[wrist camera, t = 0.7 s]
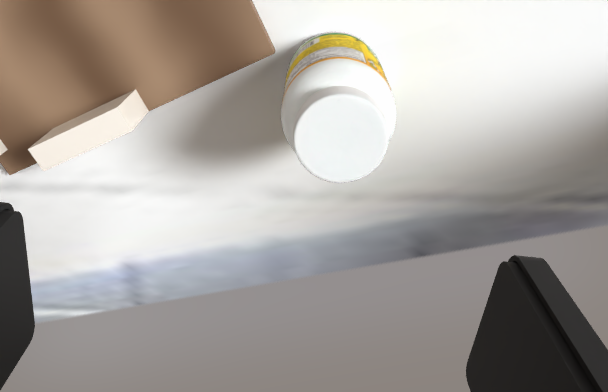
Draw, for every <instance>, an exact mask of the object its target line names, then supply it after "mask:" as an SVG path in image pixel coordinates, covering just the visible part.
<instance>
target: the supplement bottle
mask: <svg viewBox="0 0 608 392" xmlns="http://www.w3.org/2000/svg"><path fill="white" fill-rule="evenodd" d="M281 123H282V128H283V132H284V135H285V137H286V139H287V141H288V143H289V145H290V146H291V148H292V149H293V150H294V151H295V153H296V154H297V157H298V159H299V160H300V162H301V163H302V165H303V166H304V167H305V168H306V169H307V170H308V171H309V172H310V173H311V174H313V175H314V176H316V177H318V178H320V179H323V180H325V181H329V182H335V183H345V182H352V181H355V180H358V179H360V178H363V177H365V176H367V175H368V174H369V173H371V172H372V171H373V170H374V169H375V168H376V167H377V166H378V165H379V164H380V163H381V161H382V159H383V158H384V156H385V153H386V151H387V147H388V143H389V141H390V139H391V137H392V135H393V132H394V129H395V124H396V104H395V100H394V96H393V94H392V91H391V88H390V86H389V83H388V81H387V79H386V77H385V74H384V72H383V69H382V66H381V64H380V62H379V60H378V58H377V56H376V55H375V53H374V52H373V51H372V49H371V48H370V47H369V46H368V45H367V44H366V43H365V42H364V41H363V40H361V39H360V38H358V37H357V36H354V35H352V34H349V33H345V32H326V33H322V34H319V35H316V36H314V37H312V38H310V39H309V40H307V41H306V42H305V43H304V44H302V45H301V46H300V47H299V49H298V50H297V51H296V52H295V54H294V56H293V57H292V59H291V62H290V64H289V67H288V71H287V75H286V83H285V90H284V95H283V100H282V107H281Z"/></svg>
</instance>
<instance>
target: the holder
mask: <svg viewBox="0 0 608 392" xmlns="http://www.w3.org/2000/svg"><path fill="white" fill-rule="evenodd" d="M148 112H149V111H148V109H147V107H146V106H145V104H144V102H143V101H142V99H141V97H140V95H139V94H138V92H137V90H136V89H135V90H133V91H131V92H129V93H127V94H125V95H122V96H120V97H118V98H116V99H114V100H112V101H110V102H108V103H105V104H103V105H101V106H99V107H97V108H95V109H93V110H91V111H89V112H86V113H84V114H82V115H80V116H78V117H76V118H74V119H72V120H69V121H67V122H65V123H63V124H61V125H59V126H57V127H55V128H53V129H52V130H50V131H49V132H48V133H47V134H46V135H44V136H43V137H42V138H41V139H40V140H38V141H37V142H36V143H35V144H33V145H32V146H31V147H30V148H29V149H28V150H29V152H30V153H31V155H32V156H33V157H34V159H35V160H36V162H37V163H38V164H39V166H40V167H41V169H42V170H43V171H46V170H48V169H50V168H52V167H54V166H57V165H59V164H61V163H63V162H65V161H68V160H70V159H72V158H74V157H76V156H79V155H81V154H83V153H85V152H87V151H90V150H92V149H94V148H96V147H98V146H101V145H103V144H105V143H107V142H109V141H112V140H114V139H116V138H118V137H120V136H123V135H125V134H127V133H129V132H131V131H133V130H134V128H135V127H136V126H137V125H138V124H139V122H140V121H141V120H142V119H143V118H144V116H145V115H146V114H147V113H148ZM7 150H8V149H7V148H6V146H5V145H4V144H3V142H2V141H1V140H0V155H1V154H3V153H4V152H5V151H7Z"/></svg>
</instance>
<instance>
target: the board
mask: <svg viewBox="0 0 608 392" xmlns="http://www.w3.org/2000/svg"><path fill="white" fill-rule="evenodd" d="M274 53H275V48H274V46H273V44H272V42H271V40H270V38H269V36H268V33H267V31H266V29H265V27H264V25H263V23H262V21H261V19H260V17H259V14H258V12H257V10H256V8H255V6H254V4H253V2H252V0H0V140H1V141H2V142H3V144H4V145H5V146H6V148H7V149H8V150H7V151H5V152H4V153H3V154H1V155H0V163H1V164H2V165H3V167H4V168H5V169H6V171H7V172H8V173H9V175H11V174H14V173H16V172H18V171H20V170H22V169H24V168H27V167H29V166H31V165H33V164H35V163H37V162H36V160H35V159H34V157H33V156H32V155H31V153H30V152H29V150H28V149H29V148H30V147H31V146H32V145H33V144H35V143H36V142H37V141H38V140H40V139H41V138H42V137H43V136H44V135H46V134H47V133H48V132H49V131H50V130H52V129H53V128H55V127H57V126H59V125H61V124H63V123H65V122H67V121H69V120H72V119H74V118H76V117H78V116H80V115H82V114H84V113H86V112H89V111H91V110H93V109H95V108H97V107H99V106H101V105H103V104H105V103H108V102H110V101H112V100H114V99H116V98H118V97H120V96H122V95H125V94H127V93H129V92H131V91H133V90H135V89H136V90H137V92H138V94H139V95H140V97H141V99H142V101H143V102H144V104H145V106H146V107H147V109H148V111H150V110H153V109H155V108H157V107H159V106H161V105H163V104H166V103H168V102H170V101H172V100H174V99H176V98H179V97H181V96H183V95H185V94H187V93H190V92H192V91H194V90H196V89H198V88H200V87H203V86H205V85H207V84H209V83H211V82H213V81H216V80H218V79H220V78H222V77H224V76H226V75H229V74H231V73H233V72H235V71H237V70H239V69H242V68H244V67H246V66H248V65H250V64H252V63H255V62H257V61H259V60H261V59H263V58H266V57H268V56H270V55H272V54H274Z"/></svg>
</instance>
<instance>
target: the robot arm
mask: <svg viewBox="0 0 608 392" xmlns="http://www.w3.org/2000/svg"><path fill="white" fill-rule="evenodd" d="M34 327H35V322H34V313H33V304H32V295H31V286H30V278H29V269H28V260H27V251H26V242H25V233H24V225H23V218H22V215H21V213H20V212H17V211H14V209H13V207H12V205H11V204H9V203H3V202H0V390H1V388H2V387H3V385H4V384H5V382H6V380H7V379H8V377H9V376H10V374H11V372H12V371H13V369H14V368H15V366H16V364H17V363H18V361H19V360H20V358H21V356H22V355H23V353H24V352H25V350H26V349H27V347H28V345H29V344H30V341H31V340H32V337H33V333H34ZM466 376H467V382H468V385H469V388H470V391H471V392H608V350H607V348H606V347H605V345H604V344H603V343H602V341H601V340H600V338H599V337H598V335H597V334H596V333H595V331H594V330H593V329H592V327H591V325H590V324H589V323H588V321H587V320H586V318H585V317H584V316H583V314H582V313H581V311H580V310H579V308H578V307H577V305H576V304H575V302H574V301H573V299H572V298H571V297H570V295H569V294H568V293H567V291H566V290H565V288H564V287H563V285H562V284H561V282H560V281H559V279H558V278H557V277H556V275H555V274H554V272H553V271H552V270H551V268H550V266H549V265H548V264H547V262H546V261H545V260H544V259H542V258H535V257H524V256H515V255H514V256H512V257H511V258H510V259H509V261H508V262H502V263H501V264H500V266H499V268H498V271H497V274H496V277H495V280H494V283H493V286H492V289H491V292H490V295H489V298H488V301H487V304H486V307H485V310H484V313H483V316H482V319H481V322H480V326H479V328H478V332H477V335H476V338H475V341H474V344H473V347H472V350H471V353H470V356H469V359H468V362H467V367H466Z"/></svg>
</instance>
